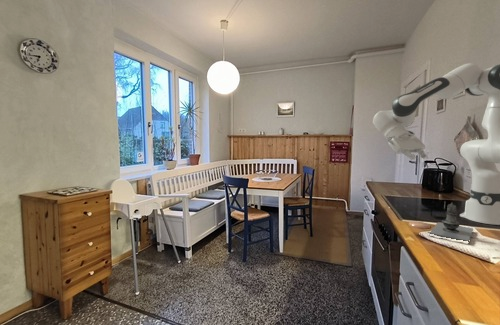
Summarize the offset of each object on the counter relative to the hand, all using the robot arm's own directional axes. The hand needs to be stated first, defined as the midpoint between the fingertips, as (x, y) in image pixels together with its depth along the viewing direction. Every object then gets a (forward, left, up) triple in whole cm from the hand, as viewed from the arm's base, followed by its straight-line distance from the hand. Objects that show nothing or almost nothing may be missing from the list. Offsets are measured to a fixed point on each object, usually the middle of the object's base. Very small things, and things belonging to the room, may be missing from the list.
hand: (419, 158), depth 109 cm
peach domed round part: (-1, 0, -32) cm, 32 cm away
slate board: (+2, +12, -31) cm, 34 cm away
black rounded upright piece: (+2, +12, -30) cm, 32 cm away
